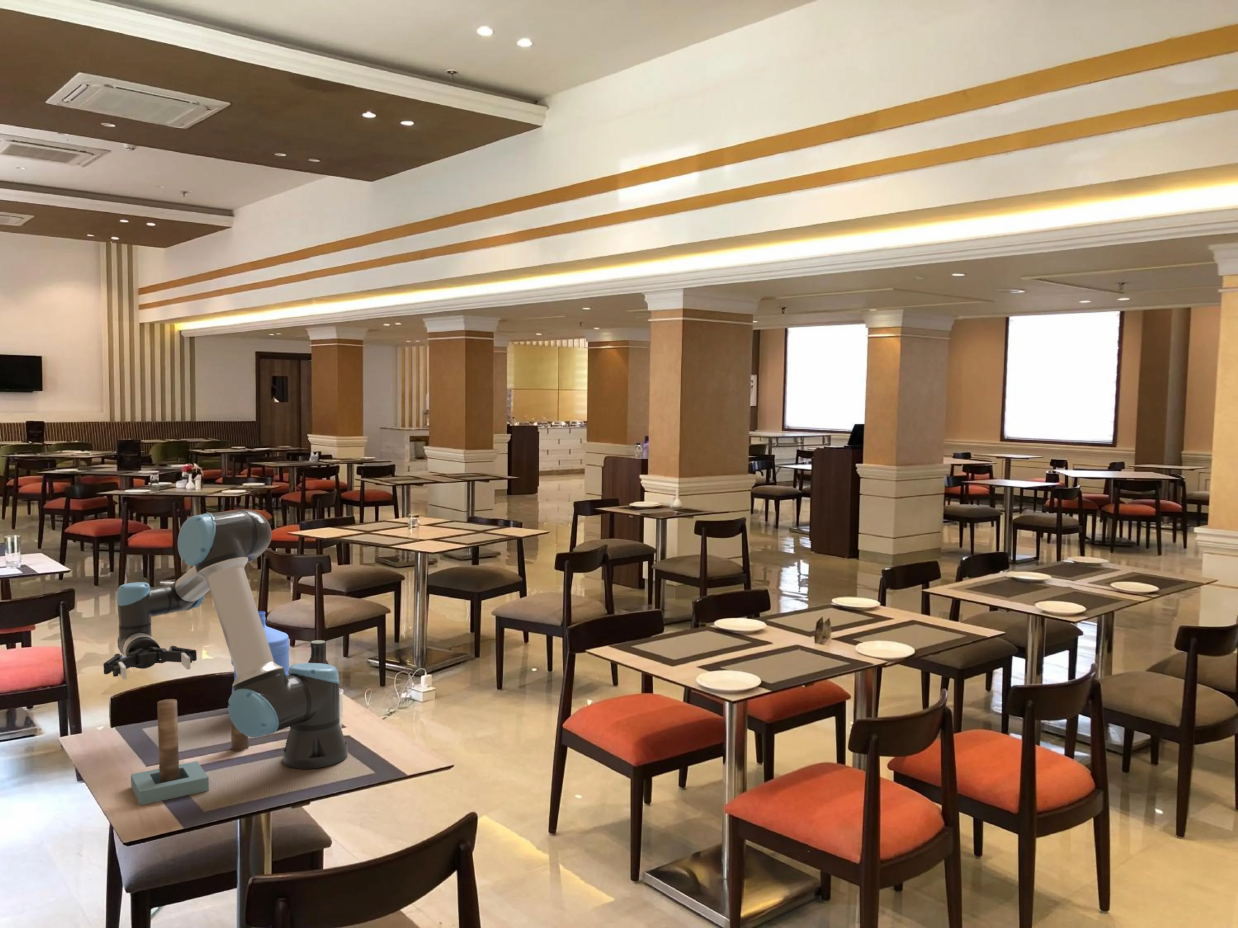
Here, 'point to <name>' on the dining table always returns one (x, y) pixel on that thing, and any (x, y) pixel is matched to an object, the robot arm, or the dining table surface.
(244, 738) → the short peg
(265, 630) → the water jug
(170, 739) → the tall peg
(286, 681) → the robot arm
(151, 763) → the dining table surface
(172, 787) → the hollow square block
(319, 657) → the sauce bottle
